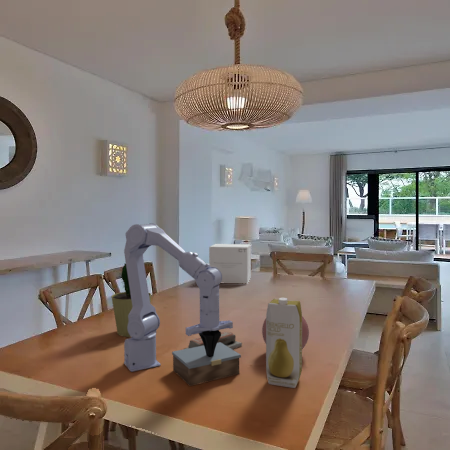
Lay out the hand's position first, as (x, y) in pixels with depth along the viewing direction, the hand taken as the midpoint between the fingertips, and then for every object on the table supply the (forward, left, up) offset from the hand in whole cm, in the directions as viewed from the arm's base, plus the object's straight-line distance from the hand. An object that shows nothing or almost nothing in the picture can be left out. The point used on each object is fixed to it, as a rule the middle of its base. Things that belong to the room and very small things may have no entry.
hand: (209, 355), depth 116 cm
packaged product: (+12, +19, -6) cm, 24 cm away
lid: (0, +2, -1) cm, 2 cm away
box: (0, +3, -6) cm, 6 cm away
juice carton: (+16, -14, -6) cm, 22 cm away
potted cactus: (-8, +52, -6) cm, 53 cm away
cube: (+82, +128, -6) cm, 152 cm away
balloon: (+28, +1, -6) cm, 29 cm away
